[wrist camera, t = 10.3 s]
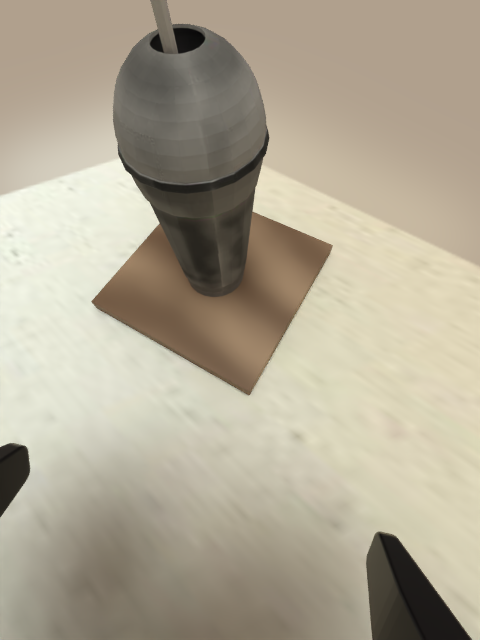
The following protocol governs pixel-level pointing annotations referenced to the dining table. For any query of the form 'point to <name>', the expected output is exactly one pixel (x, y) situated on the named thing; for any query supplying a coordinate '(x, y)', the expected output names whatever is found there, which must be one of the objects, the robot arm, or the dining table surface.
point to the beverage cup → (193, 145)
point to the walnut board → (218, 300)
